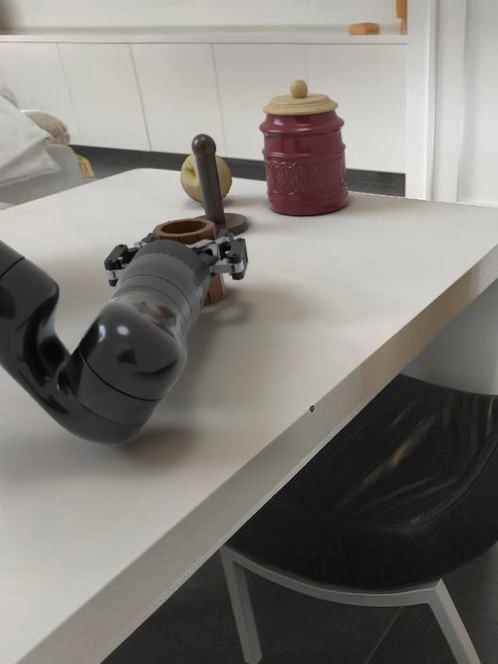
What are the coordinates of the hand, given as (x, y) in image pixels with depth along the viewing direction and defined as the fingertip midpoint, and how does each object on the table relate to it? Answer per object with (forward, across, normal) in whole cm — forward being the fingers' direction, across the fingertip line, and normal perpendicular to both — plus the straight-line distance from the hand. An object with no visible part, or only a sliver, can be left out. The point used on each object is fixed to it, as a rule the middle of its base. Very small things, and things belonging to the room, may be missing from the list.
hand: (190, 239), depth 77 cm
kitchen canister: (+37, -12, +7) cm, 39 cm away
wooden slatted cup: (-2, 0, +6) cm, 7 cm away
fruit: (+41, +5, +7) cm, 42 cm away
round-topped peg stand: (+26, +2, +6) cm, 27 cm away
